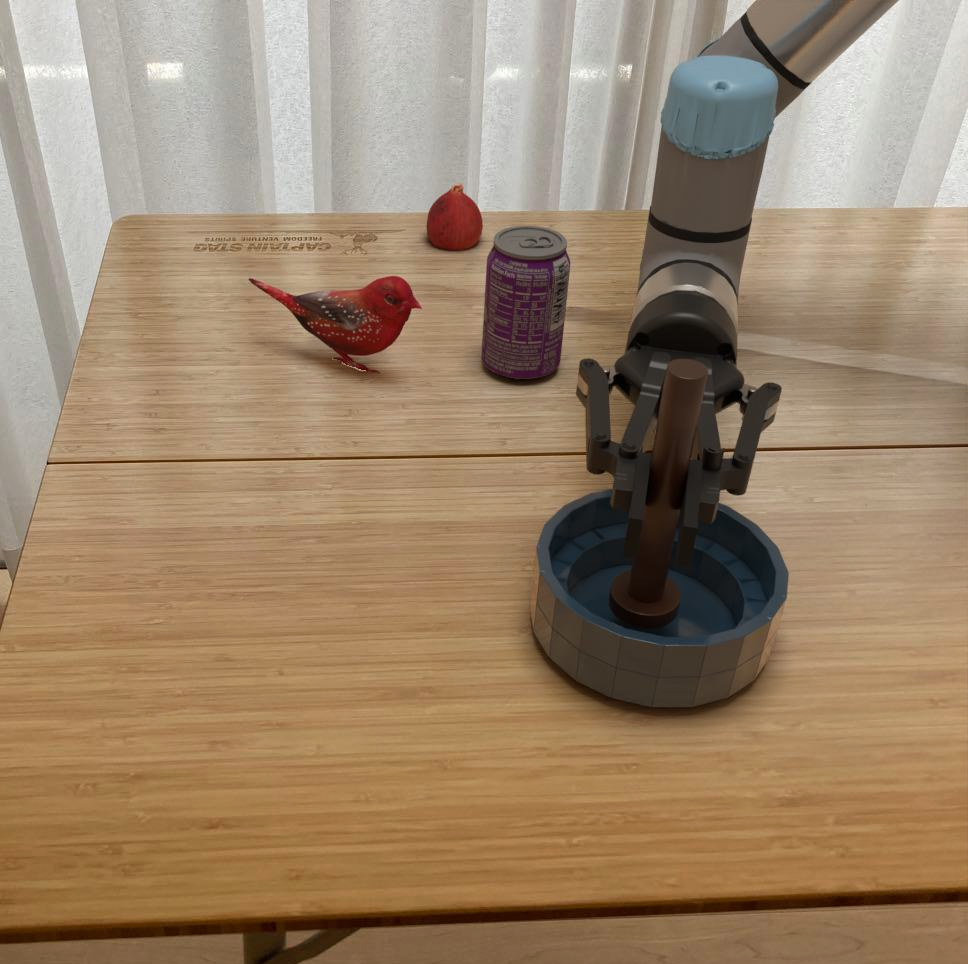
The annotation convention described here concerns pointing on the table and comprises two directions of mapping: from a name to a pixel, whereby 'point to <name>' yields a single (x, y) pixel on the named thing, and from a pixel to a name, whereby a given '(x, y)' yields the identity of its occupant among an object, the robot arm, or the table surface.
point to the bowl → (677, 646)
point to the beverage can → (525, 302)
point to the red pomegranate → (454, 221)
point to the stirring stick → (662, 503)
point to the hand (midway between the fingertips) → (659, 542)
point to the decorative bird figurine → (352, 315)
